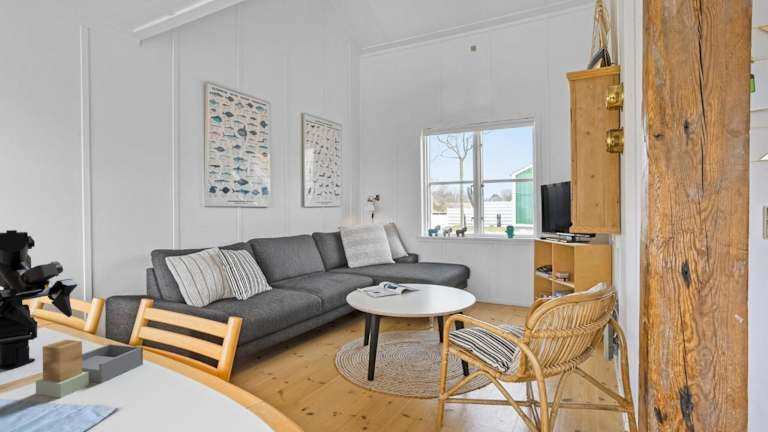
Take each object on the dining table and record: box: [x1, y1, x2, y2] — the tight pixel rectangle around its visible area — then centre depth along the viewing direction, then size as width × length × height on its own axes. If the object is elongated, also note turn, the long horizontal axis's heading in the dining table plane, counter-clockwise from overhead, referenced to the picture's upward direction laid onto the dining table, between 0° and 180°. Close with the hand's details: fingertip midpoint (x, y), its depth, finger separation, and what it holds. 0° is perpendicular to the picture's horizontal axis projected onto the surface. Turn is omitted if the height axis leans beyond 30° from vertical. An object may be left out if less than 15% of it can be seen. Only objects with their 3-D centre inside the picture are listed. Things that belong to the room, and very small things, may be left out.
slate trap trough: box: [82, 343, 144, 384], centre depth 103 cm, size 11×12×4 cm
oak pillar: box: [42, 339, 83, 382], centre depth 93 cm, size 5×5×8 cm
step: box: [35, 372, 90, 399], centre depth 93 cm, size 7×6×3 cm
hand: (52, 320), depth 101 cm, fingers open, 9 cm apart
